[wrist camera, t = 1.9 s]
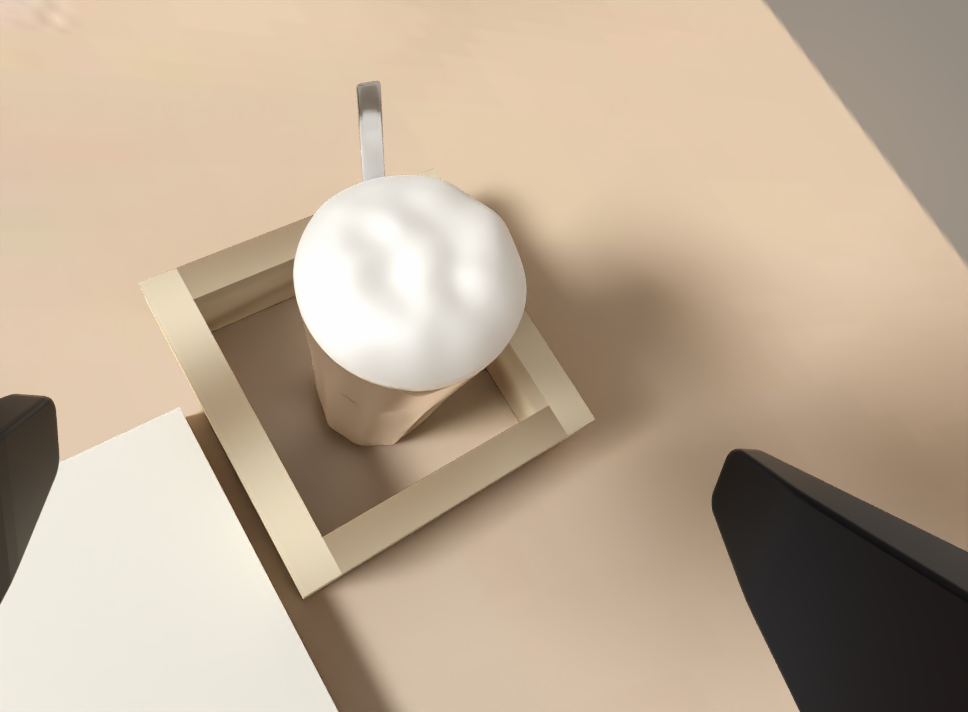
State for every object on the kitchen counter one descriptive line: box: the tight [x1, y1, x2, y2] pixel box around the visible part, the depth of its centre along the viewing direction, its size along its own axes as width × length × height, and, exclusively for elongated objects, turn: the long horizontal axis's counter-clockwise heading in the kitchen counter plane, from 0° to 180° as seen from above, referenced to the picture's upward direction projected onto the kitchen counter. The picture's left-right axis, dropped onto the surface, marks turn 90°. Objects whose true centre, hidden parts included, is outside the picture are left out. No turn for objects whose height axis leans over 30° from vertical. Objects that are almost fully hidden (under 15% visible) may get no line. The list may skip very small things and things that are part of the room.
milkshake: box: [293, 81, 527, 446], centre depth 17 cm, size 5×5×10 cm
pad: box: [0, 407, 339, 712], centre depth 17 cm, size 11×8×1 cm
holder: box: [138, 168, 595, 599], centre depth 20 cm, size 9×9×2 cm
